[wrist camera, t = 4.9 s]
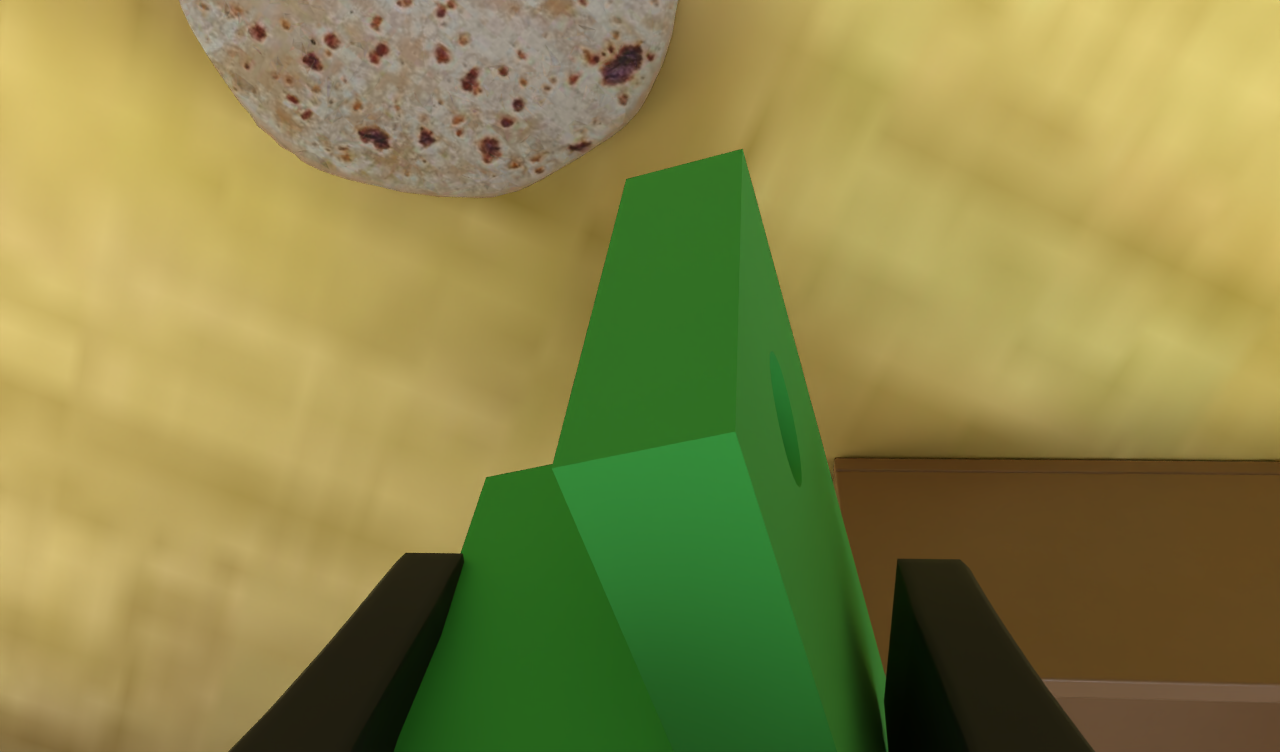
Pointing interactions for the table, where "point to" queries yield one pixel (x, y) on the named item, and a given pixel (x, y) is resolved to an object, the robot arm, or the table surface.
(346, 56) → the flatbread
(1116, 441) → the table surface
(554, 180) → the table surface
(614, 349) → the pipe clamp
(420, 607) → the robot arm
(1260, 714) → the carton
